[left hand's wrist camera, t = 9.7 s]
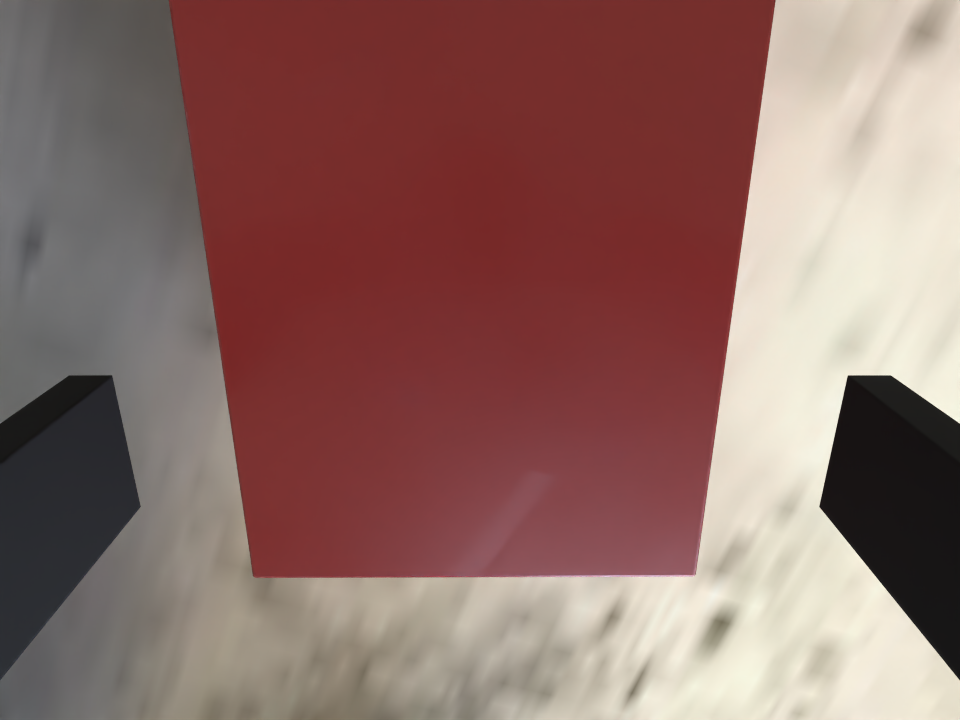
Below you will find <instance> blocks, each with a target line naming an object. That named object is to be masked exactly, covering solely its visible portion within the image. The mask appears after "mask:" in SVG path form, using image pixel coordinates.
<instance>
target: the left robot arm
mask: <svg viewBox="0 0 960 720" xmlns="http://www.w3.org/2000/svg"><path fill="white" fill-rule="evenodd" d="M140 507H141V506H140V502H139V497H138V493H137V488H136V483H135V479H134V474H133V470H132V465H131V460H130V456H129V451H128V447H127V442H126V437H125V433H124V428H123V424H122V419H121V414H120V410H119V405H118V401H117V396H116V391H115V387H114V382H113V378H112V376H68V377H66V378H65V379H63V380H62V381H61V382H59V383H58V384H56V385H55V386H53V387H52V388H51V389H49V390H48V391H46V392H45V393H43V394H42V395H41V396H39V397H38V398H36V399H35V400H34V401H32V402H31V403H29V404H28V405H26V406H25V407H24V408H22V409H21V410H19V411H18V412H16V413H15V414H14V415H12V416H11V417H9V418H8V419H6V420H5V421H4V422H2V423H1V424H0V680H1V679H2V677H3V676H4V675H5V674H6V672H7V671H8V670H9V669H10V667H11V666H12V665H13V664H14V662H15V661H16V660H17V659H18V658H19V656H20V655H21V654H22V653H23V651H24V650H25V649H26V648H27V646H28V645H29V644H30V643H31V641H32V640H33V639H34V638H35V637H36V635H37V634H38V633H39V632H40V630H41V629H42V628H43V627H44V625H45V624H46V623H47V622H48V620H49V619H50V618H51V617H52V616H53V614H54V613H55V612H56V611H57V609H58V608H59V607H60V606H61V604H62V603H63V602H64V601H65V599H66V598H67V597H68V596H69V595H70V593H71V592H72V591H73V590H74V588H75V587H76V586H77V585H78V583H79V582H80V581H81V580H82V578H83V577H84V576H85V575H86V574H87V572H88V571H89V570H90V569H91V567H92V566H93V565H94V564H95V562H96V561H97V560H98V559H99V557H100V556H101V555H102V554H103V553H104V551H105V550H106V549H107V548H108V546H109V545H110V544H111V543H112V541H113V540H114V539H115V538H116V537H117V535H118V534H119V533H120V532H121V530H122V529H123V528H124V527H125V525H126V524H127V523H128V522H129V520H130V519H131V518H132V517H133V516H134V514H135V513H136V512H137V511H138V509H139V508H140ZM819 507H820V508H821V509H822V511H823V512H824V513H825V514H826V516H827V517H828V518H829V519H830V520H831V522H832V523H833V524H834V525H835V527H836V528H837V529H838V530H839V532H840V533H841V534H842V535H843V537H844V538H845V539H846V540H847V541H848V543H849V544H850V545H851V546H852V548H853V549H854V550H855V551H856V553H857V554H858V555H859V556H860V557H861V559H862V560H863V561H864V562H865V564H866V565H867V566H868V567H869V569H870V570H871V571H872V572H873V574H874V575H875V576H876V577H877V578H878V580H879V581H880V582H881V583H882V585H883V586H884V587H885V588H886V590H887V591H888V592H889V593H890V595H891V596H892V597H893V598H894V599H895V601H896V602H897V603H898V604H899V606H900V607H901V608H902V609H903V611H904V612H905V613H906V614H907V616H908V617H909V618H910V619H911V620H912V622H913V623H914V624H915V625H916V627H917V628H918V629H919V630H920V632H921V633H922V634H923V635H924V637H925V638H926V639H927V640H928V641H929V643H930V644H931V645H932V646H933V648H934V649H935V650H936V651H937V653H938V654H939V655H940V656H941V658H942V659H943V660H944V661H945V662H946V664H947V665H948V666H949V667H950V669H951V670H952V671H953V672H954V674H955V675H956V676H957V677H958V679H959V680H960V424H959V423H958V422H956V421H955V420H954V419H952V418H951V417H949V416H948V415H946V414H945V413H944V412H942V411H941V410H939V409H938V408H936V407H935V406H934V405H932V404H931V403H929V402H928V401H926V400H925V399H924V398H922V397H921V396H919V395H918V394H917V393H915V392H914V391H912V390H911V389H909V388H908V387H907V386H905V385H904V384H902V383H901V382H899V381H898V380H897V379H895V378H894V377H892V376H848V378H847V382H846V387H845V391H844V396H843V401H842V405H841V410H840V414H839V419H838V424H837V428H836V433H835V437H834V442H833V447H832V451H831V456H830V460H829V465H828V470H827V474H826V479H825V483H824V488H823V493H822V497H821V502H820V506H819Z"/></svg>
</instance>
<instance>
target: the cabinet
mask: <svg viewBox="0 0 960 720" xmlns="http://www.w3.org/2000/svg"><path fill="white" fill-rule="evenodd" d="M169 5H170V12H171V19H172V26H173V33H174V39H175V46H176V53H177V60H178V67H179V74H180V80H181V87H182V94H183V101H184V108H185V115H186V121H187V128H188V135H189V142H190V149H191V156H192V162H193V169H194V176H195V183H196V190H197V196H198V203H199V210H200V217H201V224H202V231H203V237H204V244H205V251H206V258H207V265H208V272H209V278H210V285H211V292H212V299H213V306H214V312H215V319H216V326H217V333H218V340H219V347H220V353H221V360H222V367H223V374H224V381H225V388H226V394H227V401H228V408H229V415H230V422H231V429H232V435H233V442H234V449H235V456H236V463H237V469H238V476H239V483H240V490H241V497H242V504H243V510H244V517H245V524H246V531H247V538H248V545H249V551H250V558H251V565H252V572H253V576H254V577H255V578H333V577H659V576H695V574H696V568H697V561H698V554H699V547H700V539H701V532H702V525H703V518H704V511H705V503H706V496H707V489H708V482H709V475H710V468H711V460H712V453H713V446H714V439H715V432H716V424H717V417H718V410H719V403H720V396H721V388H722V381H723V374H724V367H725V360H726V352H727V345H728V338H729V331H730V324H731V317H732V309H733V302H734V295H735V288H736V281H737V273H738V266H739V259H740V252H741V245H742V237H743V230H744V223H745V216H746V209H747V201H748V194H749V187H750V180H751V173H752V165H753V158H754V151H755V144H756V137H757V130H758V122H759V115H760V108H761V101H762V94H763V86H764V79H765V72H766V65H767V58H768V50H769V43H770V36H771V29H772V22H773V14H774V7H775V0H169Z"/></svg>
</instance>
